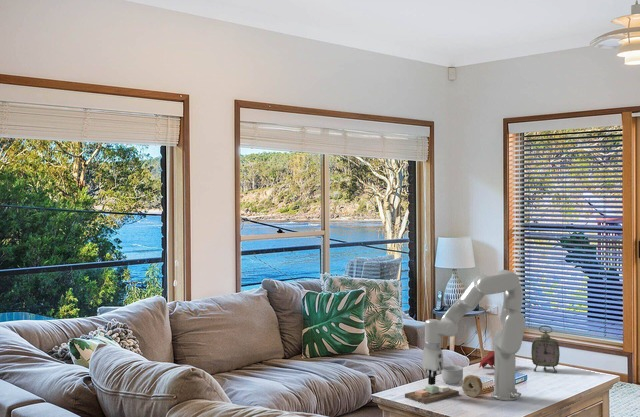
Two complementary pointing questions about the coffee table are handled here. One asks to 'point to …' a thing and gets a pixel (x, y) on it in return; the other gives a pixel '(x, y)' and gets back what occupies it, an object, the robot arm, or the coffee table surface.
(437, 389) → the tile sage
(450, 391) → the brown tile tray
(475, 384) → the bagel
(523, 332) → the robot arm
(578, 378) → the coffee table surface
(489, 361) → the decorative bird sculpture
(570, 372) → the coffee table surface
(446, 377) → the teacup
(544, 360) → the tabletop clock
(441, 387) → the tile cream
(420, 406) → the coffee table surface
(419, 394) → the tile terracotta
